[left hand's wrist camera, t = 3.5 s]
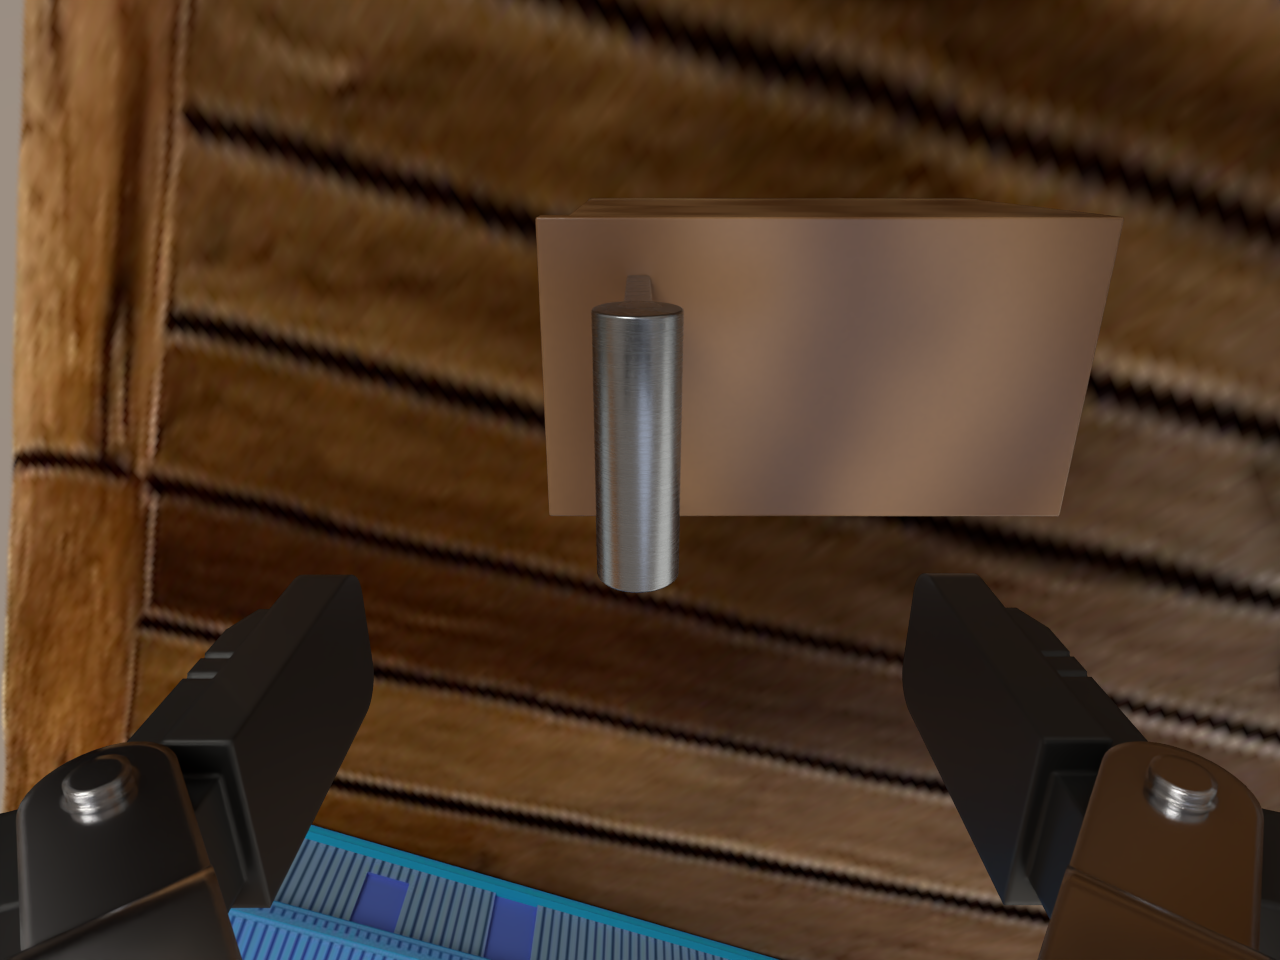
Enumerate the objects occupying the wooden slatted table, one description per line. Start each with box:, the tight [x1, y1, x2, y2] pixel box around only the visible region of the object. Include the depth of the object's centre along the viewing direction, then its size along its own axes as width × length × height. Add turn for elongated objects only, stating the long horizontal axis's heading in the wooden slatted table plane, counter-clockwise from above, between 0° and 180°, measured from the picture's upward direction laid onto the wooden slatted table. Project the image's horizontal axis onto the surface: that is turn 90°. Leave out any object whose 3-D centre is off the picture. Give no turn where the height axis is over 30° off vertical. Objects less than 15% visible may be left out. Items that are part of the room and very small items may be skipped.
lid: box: [536, 215, 1124, 592], centre depth 22 cm, size 17×10×8 cm, turn 90°
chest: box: [570, 198, 1101, 215], centre depth 31 cm, size 16×10×11 cm, turn 90°
